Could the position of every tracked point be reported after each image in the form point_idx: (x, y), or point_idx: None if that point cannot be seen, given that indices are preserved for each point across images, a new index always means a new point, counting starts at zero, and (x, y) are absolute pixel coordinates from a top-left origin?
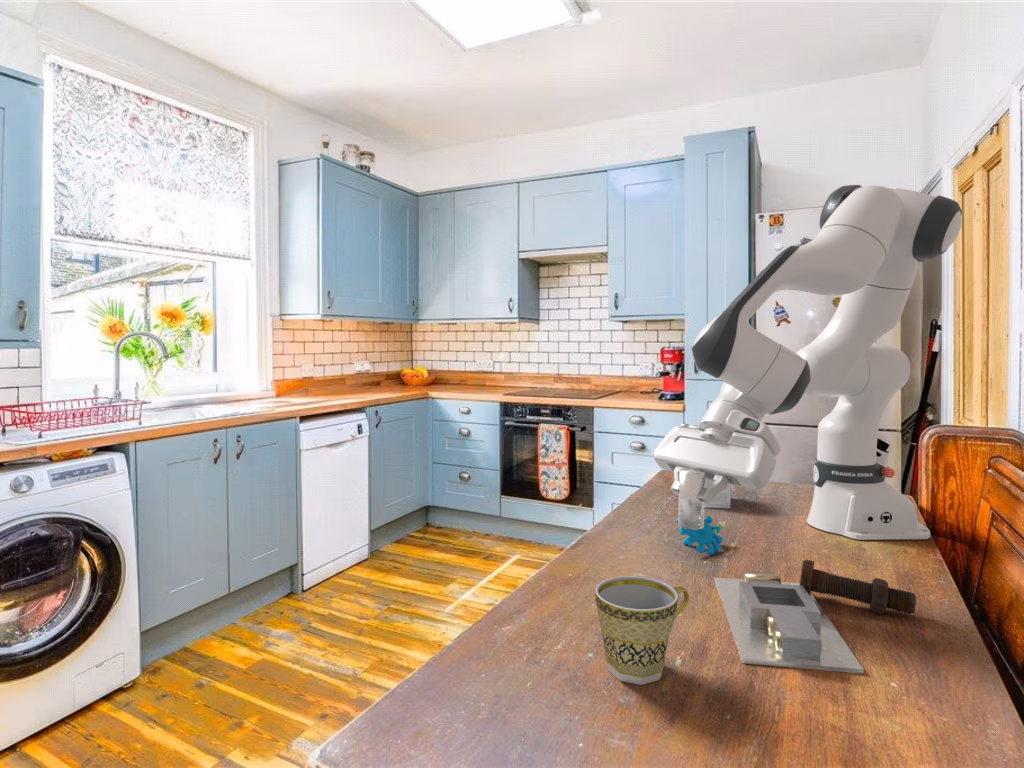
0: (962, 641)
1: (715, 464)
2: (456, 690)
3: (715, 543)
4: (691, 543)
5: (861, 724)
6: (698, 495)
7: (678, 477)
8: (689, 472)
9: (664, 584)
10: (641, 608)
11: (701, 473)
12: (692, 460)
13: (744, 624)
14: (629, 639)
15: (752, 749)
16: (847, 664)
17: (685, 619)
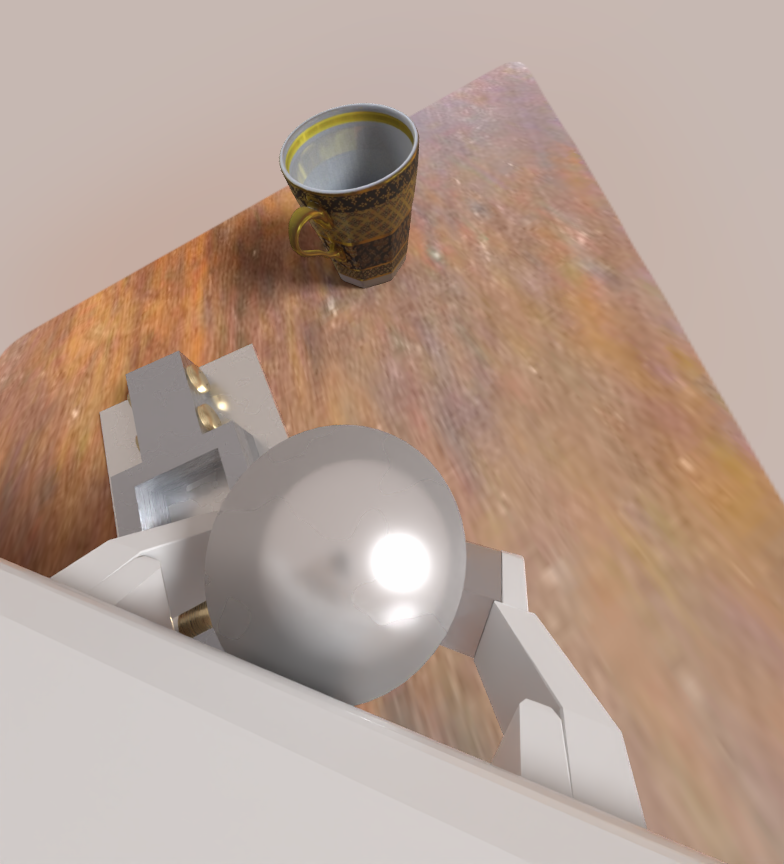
0: None
1: (6, 664)
2: (510, 138)
3: None
4: None
5: (129, 314)
6: None
7: (516, 653)
8: (337, 478)
9: (316, 189)
10: (370, 234)
11: (229, 508)
12: (369, 825)
13: (263, 442)
14: (347, 169)
15: (227, 229)
16: (118, 412)
17: (364, 417)
